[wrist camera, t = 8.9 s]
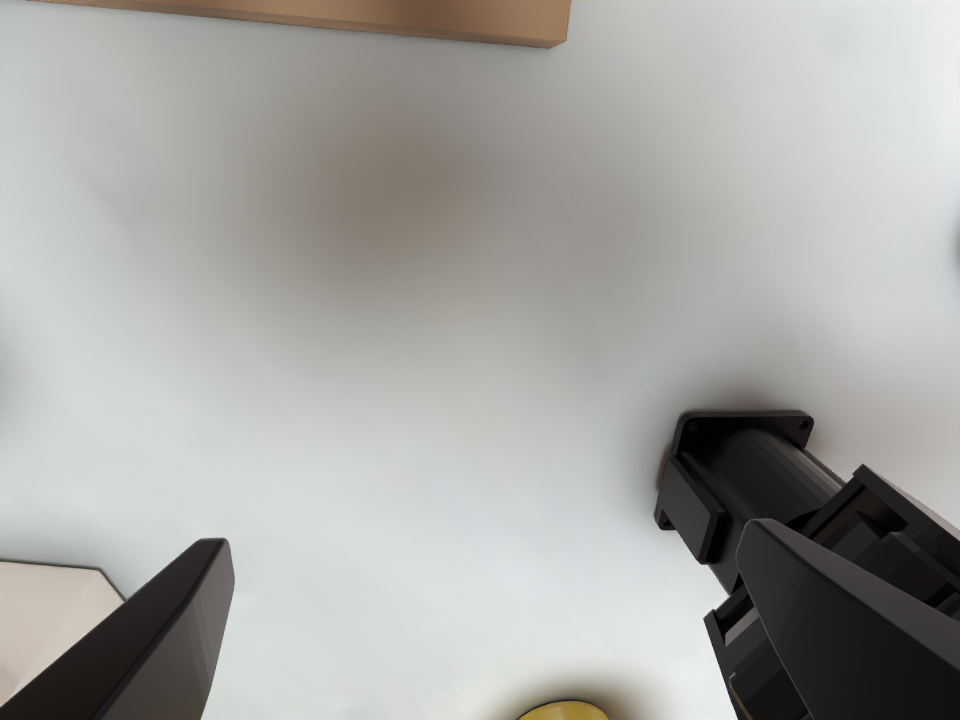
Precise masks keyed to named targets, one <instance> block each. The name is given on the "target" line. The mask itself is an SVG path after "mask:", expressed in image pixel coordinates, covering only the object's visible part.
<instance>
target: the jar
mask: <svg viewBox="0 0 960 720" xmlns="http://www.w3.org/2000/svg"><path fill="white" fill-rule="evenodd" d="M123 603H124V601H123V599H122V598H121V597H120V596H119V595H118V593H117V592H116V591H115V590H114V588H113V587H112V586H111V585H110V583H109V582H108V581H107V580H106V578H105V577H104V576H103V575H102V574H101V572H99V571H98V570H90V569H79V568H68V567H56V566H45V565H34V564H23V563H11V562H0V707H1V706H2V705H3V704H4V703H5V702H7V701H8V700H9V699H10V698H11V697H13V696H14V695H15V694H16V693H17V692H18V691H20V690H21V689H22V688H23V687H24V686H26V685H27V684H28V683H29V682H30V681H31V680H33V679H34V678H35V677H36V676H37V675H39V674H40V673H41V672H42V671H43V670H44V669H46V668H47V667H48V666H49V665H50V664H52V663H53V662H54V661H55V660H56V659H58V658H59V657H60V656H61V655H62V654H63V653H65V652H66V651H67V650H68V649H69V648H71V647H72V646H73V645H74V644H75V643H76V642H78V641H79V640H80V639H81V638H82V637H84V636H85V635H86V634H87V633H88V632H89V631H91V630H92V629H93V628H94V627H95V626H97V625H98V624H99V623H100V622H101V621H102V620H104V619H105V618H106V617H107V616H108V615H110V614H111V613H112V612H113V611H114V610H115V609H117V608H118V607H119V606H120V605H121V604H123Z"/></svg>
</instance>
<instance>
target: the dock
mask: <svg viewBox="0 0 960 720" xmlns="http://www.w3.org/2000/svg"><path fill="white" fill-rule="evenodd" d="M28 1H39V2H50V3H61V4H72V5H83V6H93V7H104V8H115V9H126V10H137V11H148V12H159V13H170V14H180V15H191V16H202V17H213V18H224V19H235V20H246V21H257V22H267V23H278V24H289V25H300V26H311V27H322V28H333V29H344V30H354V31H365V32H376V33H387V34H398V35H409V36H420V37H431V38H441V39H452V40H463V41H474V42H485V43H496V44H507V45H518V46H528V47H539V48H552V47H554V46H556V45H559V44H561V43H563V42H565V41H566V38H567V29H568V20H569V12H570V3H571V0H28Z"/></svg>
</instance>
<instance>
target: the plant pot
mask: <svg viewBox="0 0 960 720" xmlns="http://www.w3.org/2000/svg"><path fill="white" fill-rule="evenodd" d="M519 720H609V719H608V717H607V716H606V715H605V714H604V712H603V711H602V710H600V709H599V708H598V707H596V706H594V705H591V704H589V703H585V702H578V701H561V702H555V703H551V704H547V705H544V706H541V707H538V708H536V709H534V710H532V711H530V712H528V713H527V714H525V715H524V716H522V717H521V718H520V719H519Z"/></svg>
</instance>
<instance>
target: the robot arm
mask: <svg viewBox="0 0 960 720" xmlns="http://www.w3.org/2000/svg"><path fill="white" fill-rule="evenodd" d="M802 421H803V422H802ZM692 422H694V424H693V425H692V426H690V427H688V426H689V424H690V423H692ZM801 422H802V423H801ZM800 423H801V424H800ZM799 424H800V425H799ZM813 425H814V420H813V418H812V417H810V416H809V415H808V414H806V413H805V412H696V413H687V414H685V415H684V416H683V417H682V418H681V419H680V421H679V424H678V428H677V432H676V436H675V440H674V444H673V448H672V452H671V456H670V457H669V459H668V460H667V464H666V468H665V472H664V476H663V480H662V484H661V488H660V492H659V496H658V502H659V503H658V507H657V511H656V515H655V522H656V523H657V525H658V527H659V528H660V529H661V530H666V531H667V530H677V531H678V533H679V534H680V536H681V538H682V539H683V541H684V542H685V544H686V545H687V547H688V548H689V550H690V551H691V553H692V554H693V556H694V557H695V559H696V560H697V561H698V562H699V563H700V564H701V565H708V566H709V567H710V569H711V570H712V571H713V573H714V574H715V576H716V577H717V579H718V580H719V582H720V583H721V585H722V586H723V588H724V589H725V591H726V592H727V594H728V595H729V598H728V599H726V600H725V601H724V602H723V603H722V604H721V605H720V606H719V607H718V608H717V609H716V610H714V609H712V610H711V611H710V612H709V613H708V614H707V615H706V616H705V617H704V618H703V619H704V623H705V625H706V628H707V631H708V634H709V637H710V640H711V643H712V646H713V649H714V652H715V655H716V658H717V661H718V664H719V667H720V670H721V673H722V676H723V679H724V682H725V685H726V688H727V691H728V694H729V697H730V700H731V703H732V705H733V707H734V710H735V713H736V715H737V718H738V720H960V530H958V529H957V528H956V527H954V526H953V525H951V524H950V523H949V522H947V521H946V520H945V519H943V518H942V517H941V516H939V515H938V514H937V513H935V512H934V511H932V510H931V509H930V508H928V507H927V506H925V505H924V504H922V503H921V502H919V501H918V500H916V499H915V498H913V497H912V496H910V495H909V494H907V493H906V492H904V491H903V490H901V489H900V488H898V487H897V486H895V485H894V484H892V483H891V482H889V481H888V480H886V479H885V478H884V477H882V476H881V475H879V474H878V473H876V472H875V471H873V470H872V469H870V468H869V467H867V466H866V465H864V464H862V465H861V466H860V467H859V468H858V469H857V470H856V471H855V472H854V473H853V474H852V475H853V476H854V477H853V478H852V479H851V480H850V481H849V482H848V483H846V482H844V481H843V480H842V479H841V478H840V477H838V476H837V475H836V474H835V473H834V472H832V471H831V470H830V469H829V468H828V467H826V466H825V465H824V464H823V463H822V462H820V461H819V460H818V459H817V458H816V457H815V456H813V455H812V454H811V453H810V452H809V451H807V450H806V449H805V447H806V444H807V441H808V439H809V436H810V433H811V431H812V428H813ZM666 519H667V520H666ZM664 520H666V521H664ZM234 583H235V576H234V569H233V563H232V557H231V550H230V545H229V542H228V540H227V539H225V538H203V539H199V540H198V541H196V542H195V543H193V544H192V545H191V546H190V547H189V548H188V549H186V550H185V551H184V552H183V553H182V554H180V555H179V556H178V557H177V558H176V559H175V560H173V561H172V562H171V563H170V564H169V565H167V566H166V567H165V568H164V569H163V570H162V571H160V572H159V573H158V574H157V575H156V576H154V577H153V578H152V579H151V580H150V581H149V582H147V583H146V584H145V585H144V586H143V587H141V588H140V589H139V590H138V591H137V592H136V593H134V594H133V595H132V596H131V597H130V598H128V599H127V600H126V601H125V602H124V603H123V604H121V605H120V606H119V607H118V608H117V609H115V610H114V611H113V612H112V613H111V614H110V615H108V616H107V617H106V618H105V619H104V620H102V621H101V622H100V623H99V624H98V625H97V626H95V627H94V628H93V629H92V630H91V631H89V632H88V633H87V634H86V635H85V636H84V637H82V638H81V639H80V640H79V641H78V642H76V643H75V644H74V645H73V646H72V647H71V648H69V649H68V650H67V651H66V652H65V653H63V654H62V655H61V656H60V657H59V658H58V659H56V660H55V661H54V662H53V663H52V664H50V665H49V666H48V667H47V668H46V669H44V670H43V671H42V672H41V673H40V674H39V675H37V676H36V677H35V678H34V679H33V680H31V681H30V682H29V683H28V684H27V685H26V686H24V687H23V688H22V689H21V690H20V691H18V692H17V693H16V694H15V695H14V696H13V697H11V698H10V699H9V700H8V701H7V702H5V703H4V704H3V705H2V706H1V707H0V720H201V717H202V714H203V711H204V708H205V705H206V702H207V699H208V696H209V693H210V689H211V686H212V682H213V678H214V674H215V669H216V665H217V661H218V656H219V652H220V648H221V643H222V639H223V635H224V630H225V626H226V622H227V617H228V613H229V609H230V604H231V600H232V596H233V591H234Z"/></svg>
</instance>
